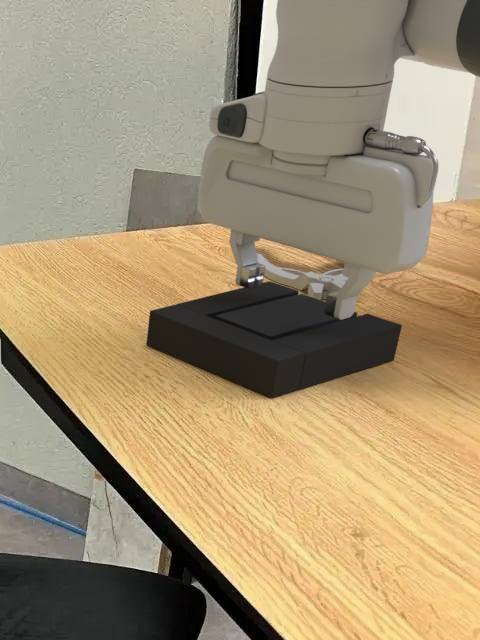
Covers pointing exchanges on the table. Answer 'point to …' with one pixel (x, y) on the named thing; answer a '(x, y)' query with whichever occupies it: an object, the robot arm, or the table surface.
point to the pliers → (305, 279)
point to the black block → (281, 317)
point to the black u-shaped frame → (269, 343)
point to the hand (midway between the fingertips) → (291, 300)
